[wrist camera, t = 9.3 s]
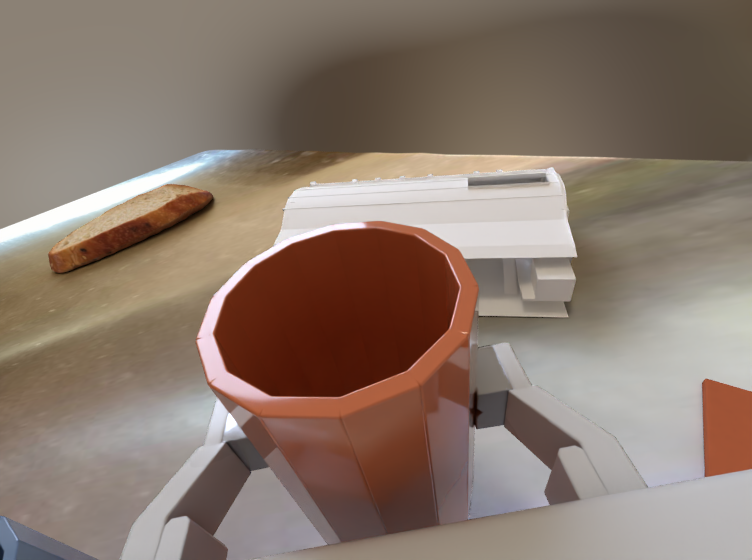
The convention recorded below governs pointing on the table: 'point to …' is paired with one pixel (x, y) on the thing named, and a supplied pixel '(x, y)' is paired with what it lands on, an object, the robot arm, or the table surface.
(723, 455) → the terracotta mat
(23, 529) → the blue cup
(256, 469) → the robot arm
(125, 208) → the bread slice
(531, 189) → the model shed
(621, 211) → the table surface
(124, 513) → the table surface
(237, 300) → the terracotta cup
